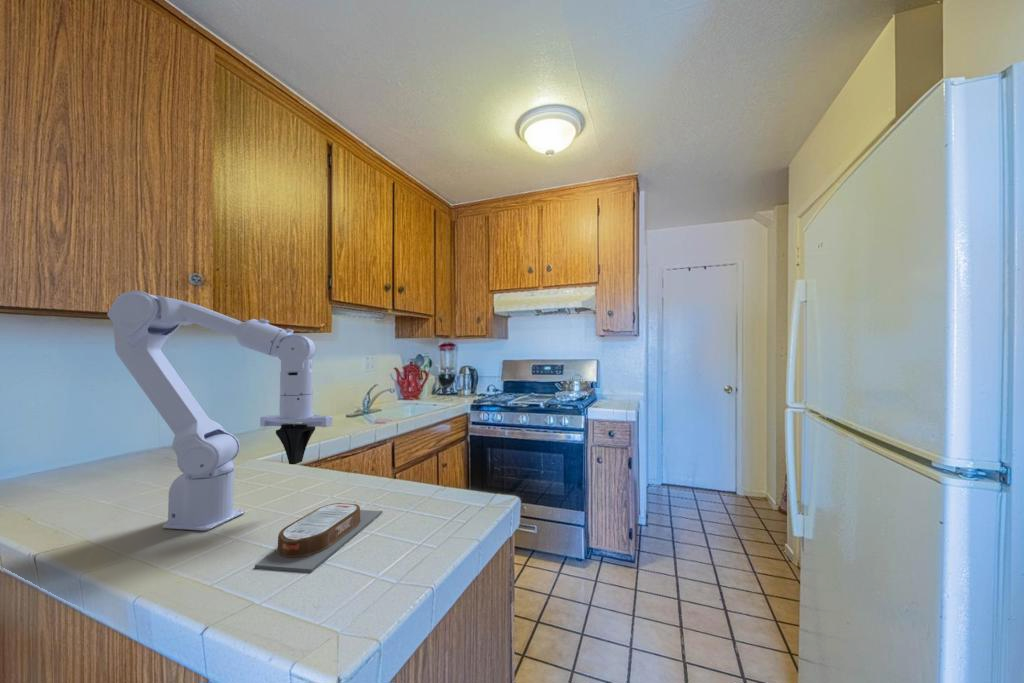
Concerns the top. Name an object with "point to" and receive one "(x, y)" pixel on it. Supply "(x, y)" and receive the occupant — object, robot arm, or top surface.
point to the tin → (318, 530)
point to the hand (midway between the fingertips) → (295, 462)
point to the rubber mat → (318, 558)
